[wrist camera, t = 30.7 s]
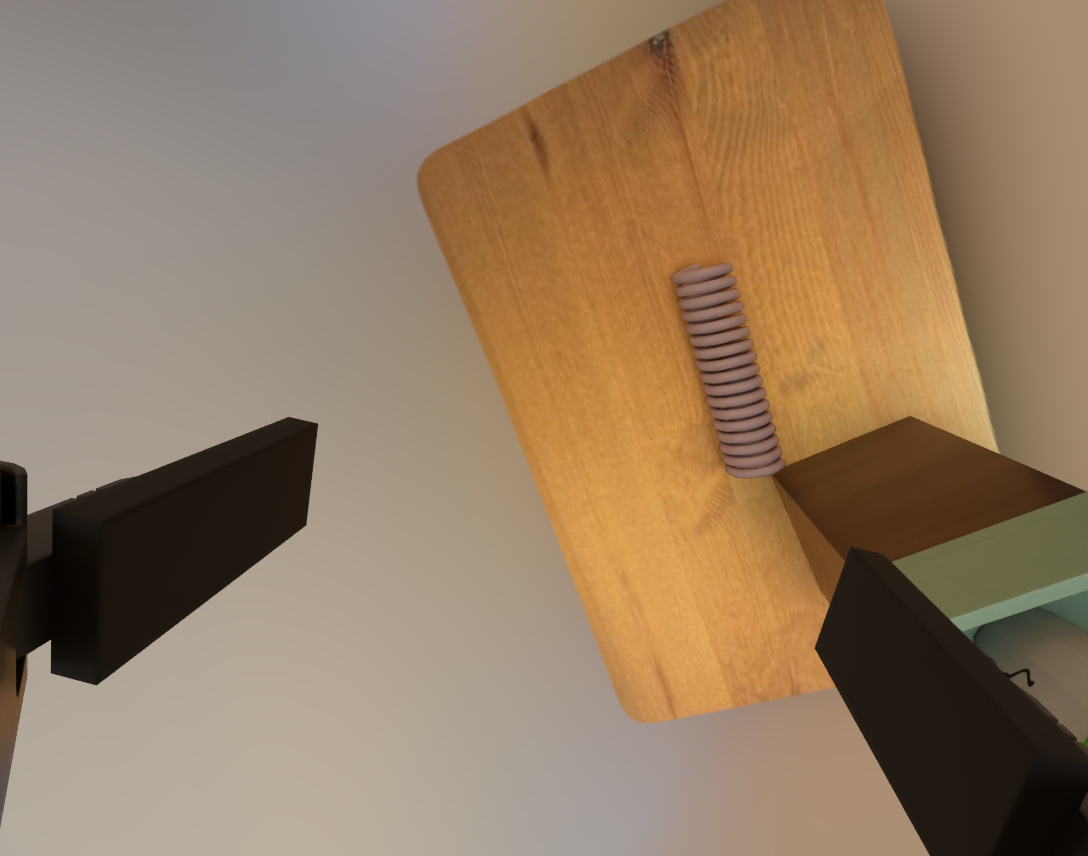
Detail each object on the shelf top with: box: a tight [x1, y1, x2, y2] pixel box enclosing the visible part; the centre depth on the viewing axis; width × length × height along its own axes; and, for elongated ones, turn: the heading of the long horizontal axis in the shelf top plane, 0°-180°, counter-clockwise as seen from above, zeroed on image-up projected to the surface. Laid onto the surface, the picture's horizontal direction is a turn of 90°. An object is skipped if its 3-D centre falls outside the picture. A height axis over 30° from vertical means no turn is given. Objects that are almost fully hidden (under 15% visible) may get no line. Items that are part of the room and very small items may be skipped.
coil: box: [671, 263, 785, 479], centre depth 49 cm, size 5×5×18 cm
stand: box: [771, 416, 1086, 603], centre depth 43 cm, size 12×12×20 cm
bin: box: [892, 491, 1088, 643], centre depth 30 cm, size 13×13×6 cm
